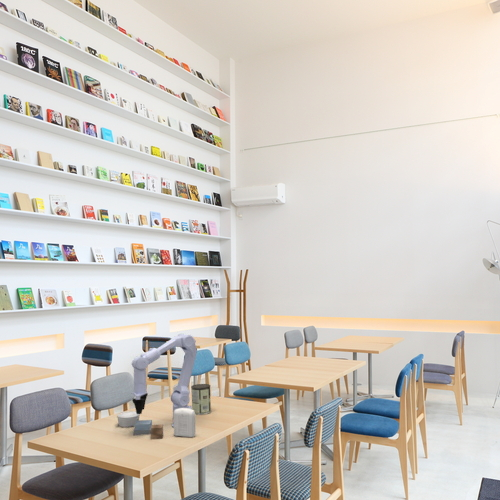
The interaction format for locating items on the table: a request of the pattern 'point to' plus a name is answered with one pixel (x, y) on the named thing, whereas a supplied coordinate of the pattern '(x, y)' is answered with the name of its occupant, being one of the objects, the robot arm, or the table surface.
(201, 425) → the table surface
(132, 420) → the ramekin
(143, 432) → the tower base
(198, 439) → the table surface
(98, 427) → the table surface
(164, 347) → the robot arm
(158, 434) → the walnut cube
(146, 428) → the tower top
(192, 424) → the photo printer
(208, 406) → the coffee can
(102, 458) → the table surface
